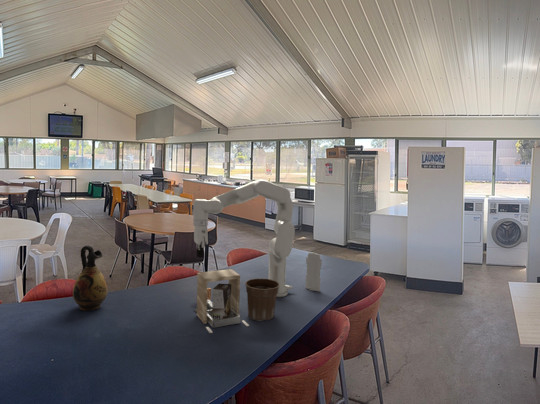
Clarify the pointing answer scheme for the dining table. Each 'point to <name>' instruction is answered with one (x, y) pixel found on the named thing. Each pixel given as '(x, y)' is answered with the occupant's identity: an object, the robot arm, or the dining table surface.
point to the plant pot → (261, 298)
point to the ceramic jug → (90, 282)
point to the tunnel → (211, 277)
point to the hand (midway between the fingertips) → (200, 256)
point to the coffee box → (221, 302)
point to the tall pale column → (313, 271)
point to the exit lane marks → (212, 332)
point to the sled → (220, 322)
